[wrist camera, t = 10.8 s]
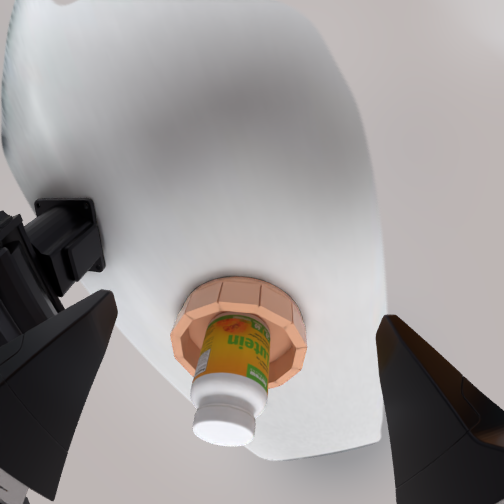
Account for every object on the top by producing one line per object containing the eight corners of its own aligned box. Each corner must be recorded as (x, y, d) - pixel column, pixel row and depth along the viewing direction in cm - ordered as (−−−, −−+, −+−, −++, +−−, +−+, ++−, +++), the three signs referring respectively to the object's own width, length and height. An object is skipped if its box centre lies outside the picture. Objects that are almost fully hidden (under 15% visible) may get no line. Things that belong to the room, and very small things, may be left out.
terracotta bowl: (187, 358, 28) (180, 383, 26) (175, 270, 23) (163, 295, 20) (293, 368, 28) (294, 394, 25) (312, 281, 23) (316, 308, 20)
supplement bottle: (283, 326, 24) (282, 432, 16) (251, 360, 27) (240, 455, 18) (224, 298, 23) (199, 406, 15) (197, 337, 26) (171, 433, 17)
